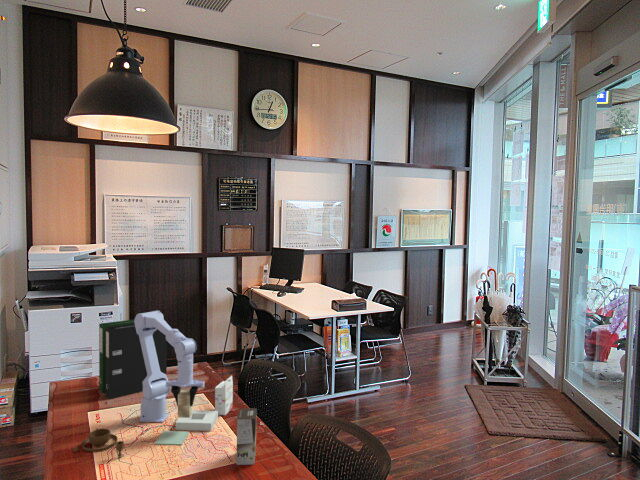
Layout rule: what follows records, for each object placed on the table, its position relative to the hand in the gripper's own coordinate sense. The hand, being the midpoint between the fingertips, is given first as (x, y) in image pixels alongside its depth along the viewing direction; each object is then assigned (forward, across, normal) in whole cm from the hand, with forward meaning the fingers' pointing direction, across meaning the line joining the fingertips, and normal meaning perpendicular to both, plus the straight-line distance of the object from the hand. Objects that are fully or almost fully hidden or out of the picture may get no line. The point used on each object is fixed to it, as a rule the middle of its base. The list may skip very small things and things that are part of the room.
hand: (185, 405), depth 185 cm
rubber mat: (+10, -3, -6) cm, 12 cm away
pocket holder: (+10, +3, +7) cm, 13 cm away
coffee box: (+11, +27, -20) cm, 35 cm away
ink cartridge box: (+11, +12, +20) cm, 25 cm away
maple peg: (+4, 0, 0) cm, 4 cm away
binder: (+11, -36, +44) cm, 58 cm away
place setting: (+11, -26, -15) cm, 32 cm away
